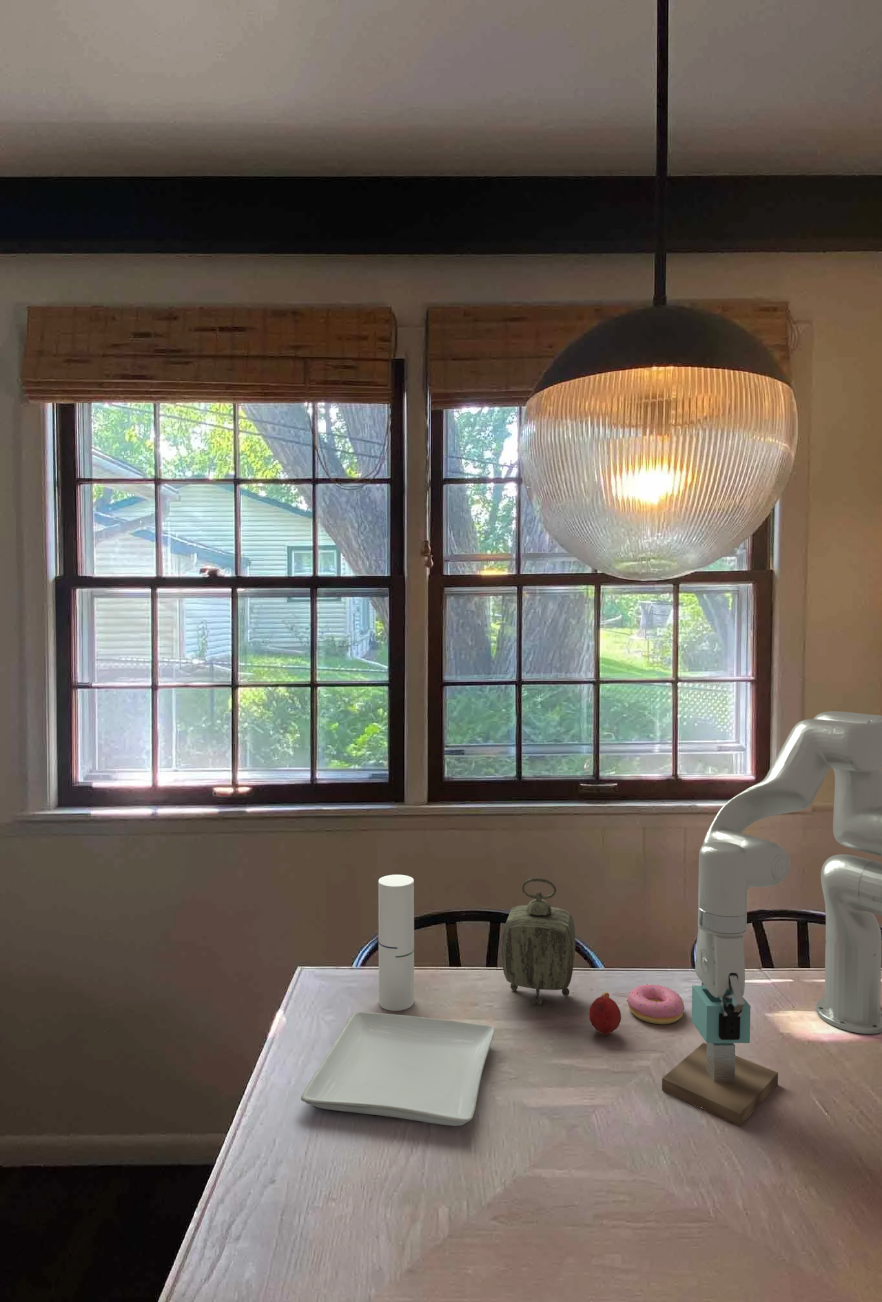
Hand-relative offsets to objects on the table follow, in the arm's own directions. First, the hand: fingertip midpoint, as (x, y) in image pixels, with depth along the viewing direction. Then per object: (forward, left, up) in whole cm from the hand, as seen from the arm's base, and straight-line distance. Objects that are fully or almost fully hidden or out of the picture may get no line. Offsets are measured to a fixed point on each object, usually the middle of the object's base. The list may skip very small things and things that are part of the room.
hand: (720, 1025), depth 125 cm
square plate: (+34, -39, -11) cm, 53 cm away
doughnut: (-15, -20, -11) cm, 27 cm away
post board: (0, 0, -10) cm, 10 cm away
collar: (0, 0, -1) cm, 1 cm away
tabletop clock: (-3, -39, -11) cm, 41 cm away
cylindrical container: (+18, -59, -11) cm, 63 cm away
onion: (-1, -22, -11) cm, 25 cm away
